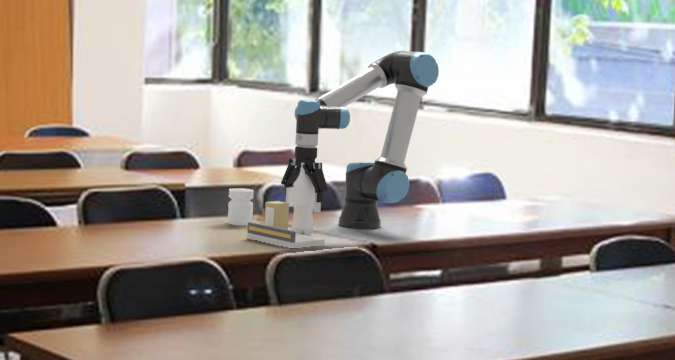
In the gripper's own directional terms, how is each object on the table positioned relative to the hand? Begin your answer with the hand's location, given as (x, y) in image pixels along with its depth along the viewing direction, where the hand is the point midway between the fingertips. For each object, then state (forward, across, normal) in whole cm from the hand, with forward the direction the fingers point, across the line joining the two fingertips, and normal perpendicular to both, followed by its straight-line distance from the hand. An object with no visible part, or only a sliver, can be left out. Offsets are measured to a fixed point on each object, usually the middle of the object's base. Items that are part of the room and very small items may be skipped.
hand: (302, 209), depth 432 cm
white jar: (+10, -31, -1) cm, 32 cm away
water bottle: (+9, 0, 0) cm, 9 cm away
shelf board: (+9, +6, -13) cm, 17 cm away
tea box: (+7, -1, -11) cm, 13 cm away
